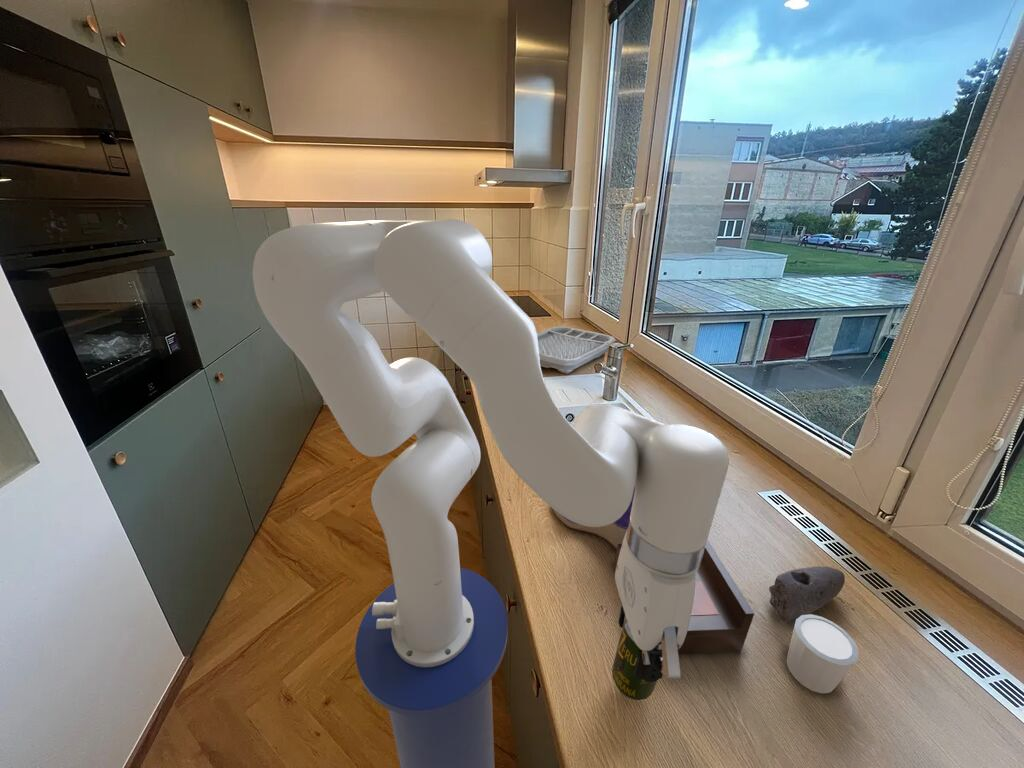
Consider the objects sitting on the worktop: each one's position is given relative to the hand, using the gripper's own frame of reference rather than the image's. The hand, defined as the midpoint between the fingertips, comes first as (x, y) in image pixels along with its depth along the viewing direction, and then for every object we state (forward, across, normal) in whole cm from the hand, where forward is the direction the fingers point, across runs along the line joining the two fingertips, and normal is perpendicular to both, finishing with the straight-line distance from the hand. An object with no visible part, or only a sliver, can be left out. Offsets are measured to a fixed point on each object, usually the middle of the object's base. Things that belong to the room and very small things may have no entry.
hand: (638, 648), depth 50 cm
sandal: (+9, -30, +2) cm, 31 cm away
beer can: (+7, 0, 0) cm, 7 cm away
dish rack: (+10, -126, +11) cm, 126 cm away
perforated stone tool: (+9, -12, +32) cm, 35 cm away
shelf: (+9, -13, +11) cm, 19 cm away
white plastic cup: (+9, -2, +26) cm, 27 cm away
